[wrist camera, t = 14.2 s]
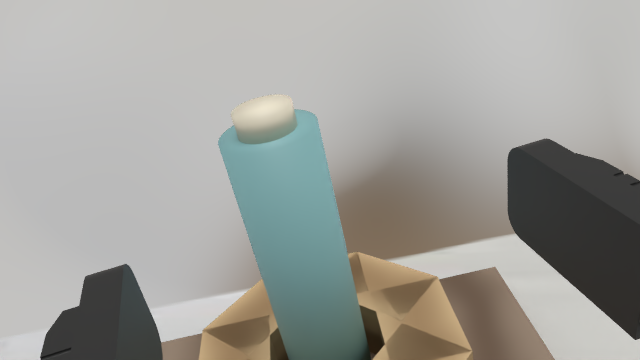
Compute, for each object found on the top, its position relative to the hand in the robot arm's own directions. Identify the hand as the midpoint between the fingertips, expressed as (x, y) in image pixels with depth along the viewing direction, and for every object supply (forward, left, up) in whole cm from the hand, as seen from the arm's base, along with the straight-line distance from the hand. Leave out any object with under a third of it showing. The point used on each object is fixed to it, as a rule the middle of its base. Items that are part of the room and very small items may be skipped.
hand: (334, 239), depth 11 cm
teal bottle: (-2, +11, -17) cm, 20 cm away
